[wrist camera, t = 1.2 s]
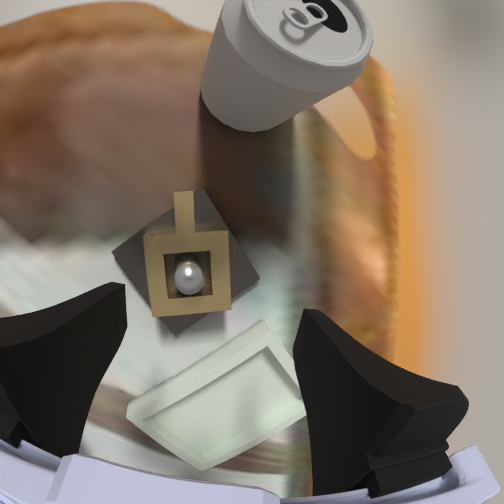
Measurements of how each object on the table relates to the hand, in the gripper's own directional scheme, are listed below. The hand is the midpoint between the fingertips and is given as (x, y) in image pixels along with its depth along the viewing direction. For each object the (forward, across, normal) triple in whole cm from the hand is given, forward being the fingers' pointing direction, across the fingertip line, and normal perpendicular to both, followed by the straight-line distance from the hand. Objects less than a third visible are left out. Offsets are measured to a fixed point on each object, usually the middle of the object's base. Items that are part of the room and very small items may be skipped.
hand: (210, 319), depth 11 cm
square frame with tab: (+10, +3, +1) cm, 10 cm away
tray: (+9, -2, +15) cm, 18 cm away
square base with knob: (+10, +3, +2) cm, 11 cm away
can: (+14, 0, -12) cm, 18 cm away
